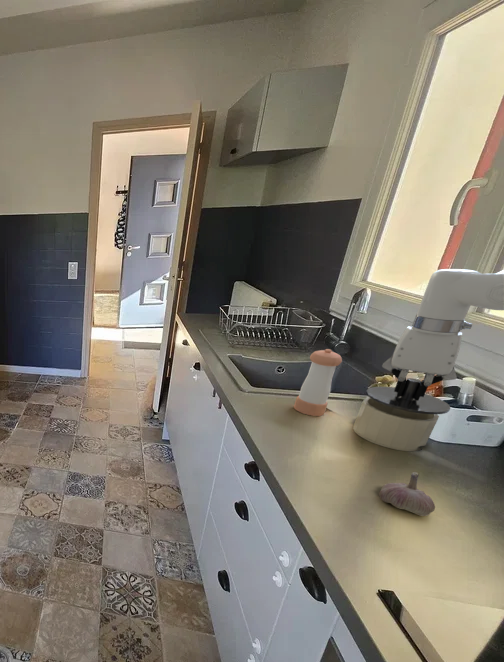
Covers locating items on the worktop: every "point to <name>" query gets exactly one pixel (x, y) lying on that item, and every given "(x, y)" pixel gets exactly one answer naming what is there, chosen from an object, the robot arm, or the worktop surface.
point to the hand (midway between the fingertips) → (407, 396)
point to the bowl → (393, 426)
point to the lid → (408, 399)
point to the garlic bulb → (408, 497)
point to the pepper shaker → (317, 383)
